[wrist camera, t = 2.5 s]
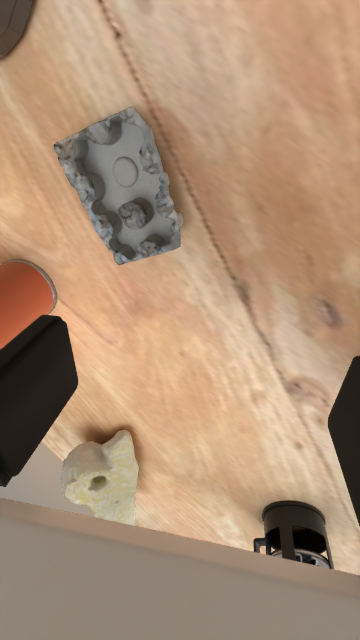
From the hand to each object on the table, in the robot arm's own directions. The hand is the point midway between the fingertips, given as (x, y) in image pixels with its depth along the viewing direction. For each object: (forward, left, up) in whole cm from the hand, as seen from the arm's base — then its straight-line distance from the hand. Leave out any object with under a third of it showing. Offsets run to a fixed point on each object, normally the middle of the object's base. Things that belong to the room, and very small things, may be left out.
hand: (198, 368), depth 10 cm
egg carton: (+8, -3, -19) cm, 21 cm away
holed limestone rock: (+10, +38, -19) cm, 43 cm away
